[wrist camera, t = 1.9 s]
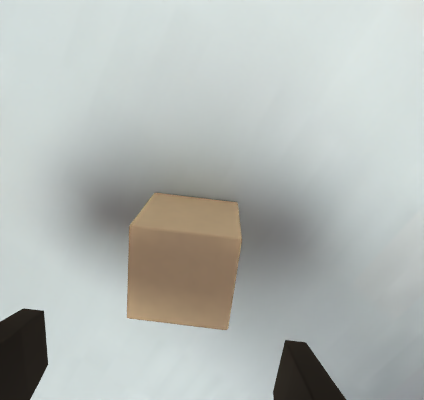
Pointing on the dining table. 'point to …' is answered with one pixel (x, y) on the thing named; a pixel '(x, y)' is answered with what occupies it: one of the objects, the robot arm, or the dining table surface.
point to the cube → (183, 261)
